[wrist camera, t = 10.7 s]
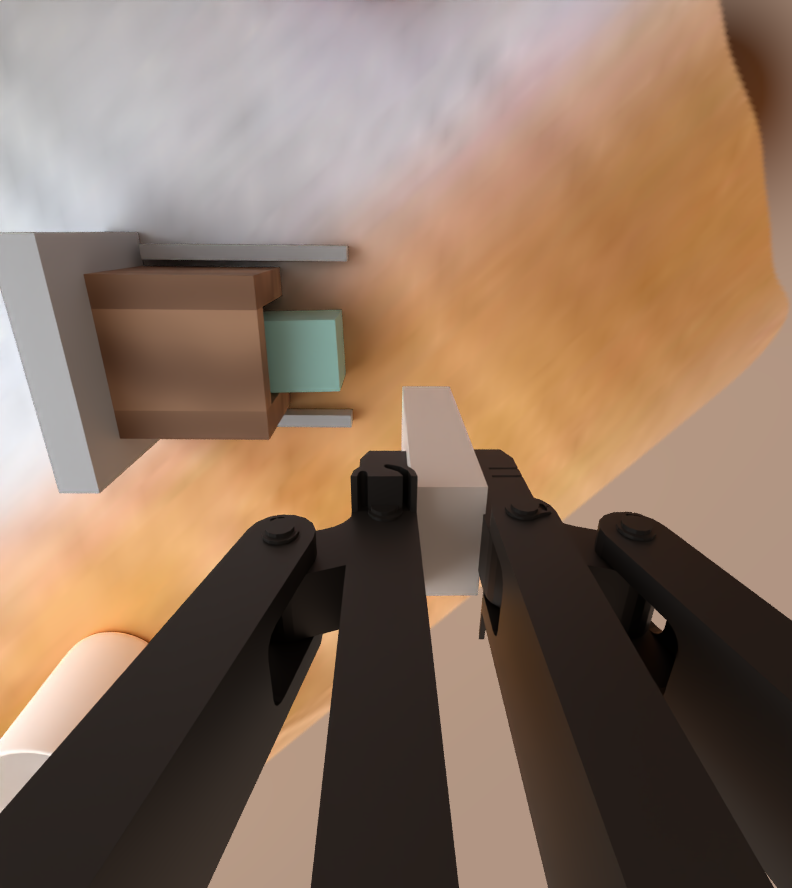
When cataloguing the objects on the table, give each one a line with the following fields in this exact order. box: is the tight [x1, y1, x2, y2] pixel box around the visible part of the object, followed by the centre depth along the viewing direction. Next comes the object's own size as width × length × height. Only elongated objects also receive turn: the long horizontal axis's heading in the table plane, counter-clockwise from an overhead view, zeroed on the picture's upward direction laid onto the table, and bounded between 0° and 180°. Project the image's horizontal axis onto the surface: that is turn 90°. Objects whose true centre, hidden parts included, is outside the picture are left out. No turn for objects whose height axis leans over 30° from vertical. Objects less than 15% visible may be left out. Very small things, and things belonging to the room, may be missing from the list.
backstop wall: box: [0, 232, 353, 493], centre depth 27 cm, size 12×14×9 cm
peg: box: [263, 310, 346, 393], centre depth 30 cm, size 4×10×4 cm, turn 91°
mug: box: [0, 632, 148, 813], centre depth 37 cm, size 12×8×10 cm
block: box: [83, 266, 290, 440], centre depth 28 cm, size 8×8×6 cm
